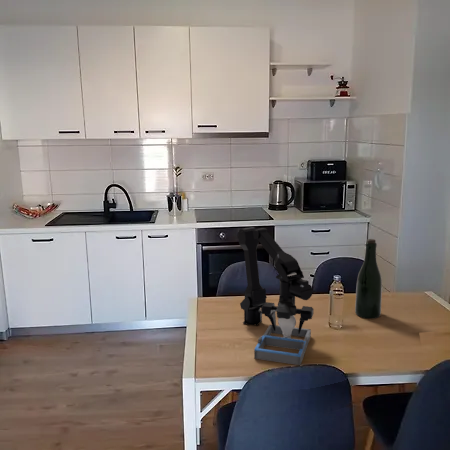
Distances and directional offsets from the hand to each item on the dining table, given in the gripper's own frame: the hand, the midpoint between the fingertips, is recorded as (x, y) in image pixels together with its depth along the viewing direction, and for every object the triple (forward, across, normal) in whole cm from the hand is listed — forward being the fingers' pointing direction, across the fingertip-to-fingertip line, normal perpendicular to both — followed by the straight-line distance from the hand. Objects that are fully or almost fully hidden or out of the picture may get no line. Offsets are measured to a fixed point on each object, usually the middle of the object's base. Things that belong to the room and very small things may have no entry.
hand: (286, 331), depth 170 cm
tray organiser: (+4, 0, -6) cm, 7 cm away
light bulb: (+4, 0, 0) cm, 4 cm away
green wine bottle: (+4, +28, +35) cm, 45 cm away
